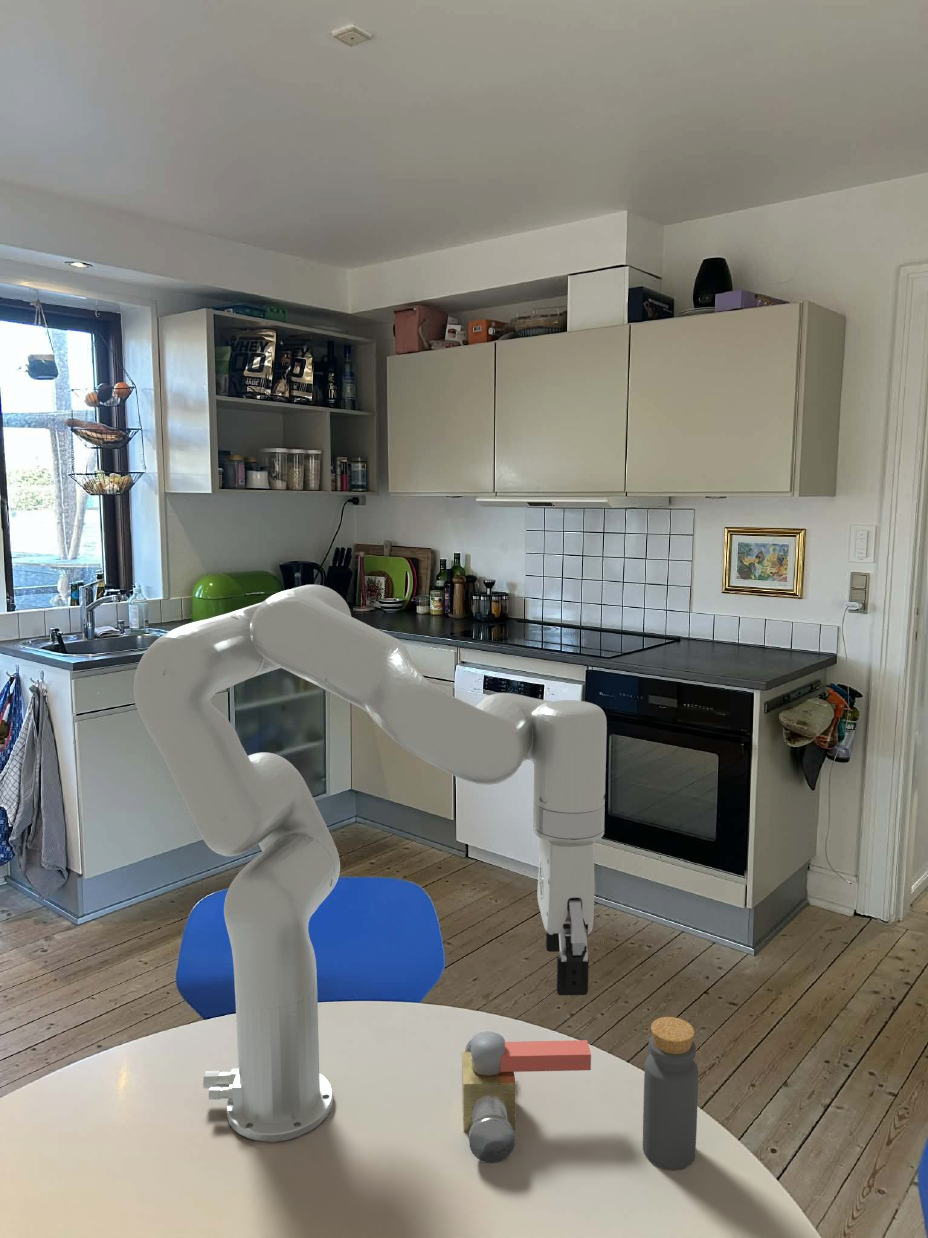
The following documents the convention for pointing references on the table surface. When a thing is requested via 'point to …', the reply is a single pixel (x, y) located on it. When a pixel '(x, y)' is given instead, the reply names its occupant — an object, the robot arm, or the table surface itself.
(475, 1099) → the valve body
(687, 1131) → the bottle
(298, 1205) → the table surface
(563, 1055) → the lever
